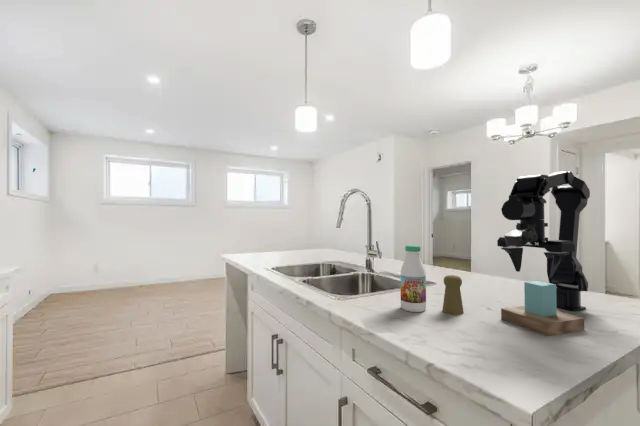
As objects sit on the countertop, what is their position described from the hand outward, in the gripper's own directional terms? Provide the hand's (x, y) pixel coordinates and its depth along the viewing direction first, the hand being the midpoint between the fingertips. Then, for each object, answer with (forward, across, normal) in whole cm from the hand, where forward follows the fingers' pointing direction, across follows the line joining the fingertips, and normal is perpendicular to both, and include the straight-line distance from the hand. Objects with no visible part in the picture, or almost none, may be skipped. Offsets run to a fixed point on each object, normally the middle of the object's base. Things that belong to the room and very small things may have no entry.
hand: (533, 274), depth 87 cm
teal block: (+10, +4, -3) cm, 11 cm away
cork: (+13, -13, -17) cm, 25 cm away
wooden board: (+13, +4, -3) cm, 13 cm away
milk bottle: (+12, -19, -27) cm, 35 cm away
